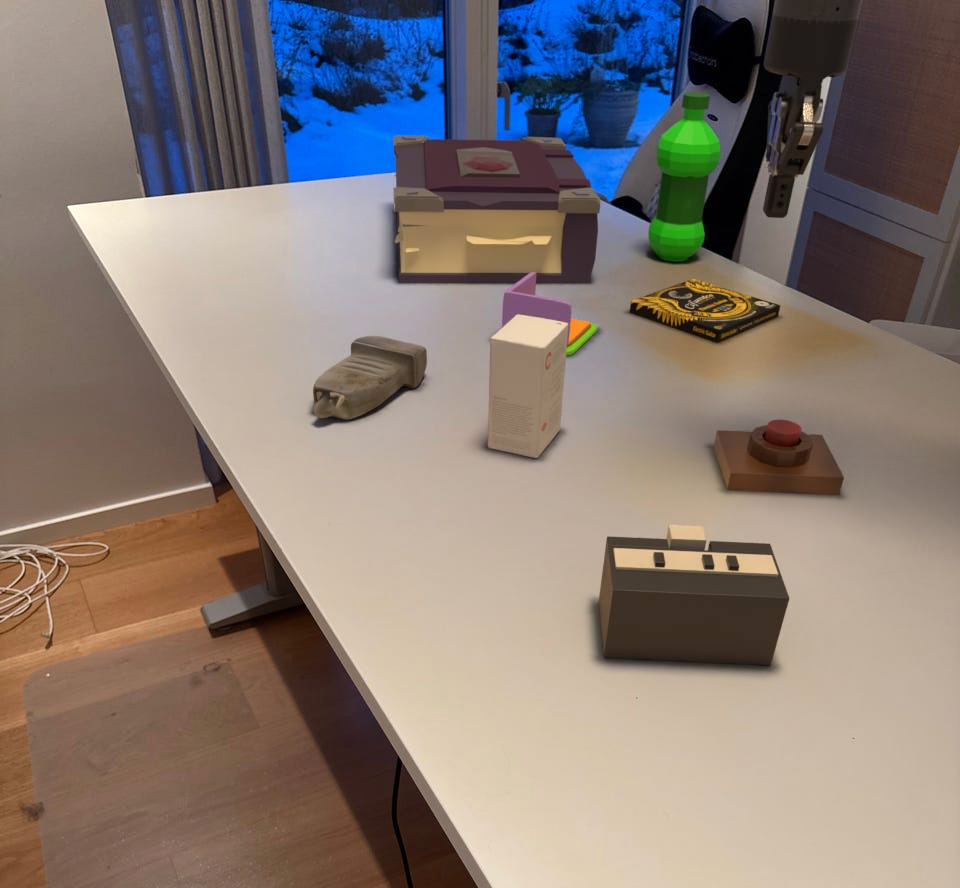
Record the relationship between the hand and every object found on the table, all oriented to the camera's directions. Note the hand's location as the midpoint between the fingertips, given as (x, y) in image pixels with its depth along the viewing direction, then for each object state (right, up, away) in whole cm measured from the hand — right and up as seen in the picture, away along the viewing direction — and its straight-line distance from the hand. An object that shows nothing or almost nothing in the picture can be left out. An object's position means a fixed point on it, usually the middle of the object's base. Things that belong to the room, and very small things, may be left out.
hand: (774, 215), depth 97 cm
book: (-28, +28, +74) cm, 84 cm away
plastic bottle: (+4, +24, +71) cm, 75 cm away
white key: (-12, -36, -13) cm, 40 cm away
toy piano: (-12, -42, -13) cm, 46 cm away
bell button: (+3, -21, +8) cm, 23 cm away
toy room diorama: (-20, +1, +40) cm, 45 cm away
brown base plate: (+3, -24, +10) cm, 26 cm away
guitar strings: (+4, +6, +49) cm, 49 cm away
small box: (-25, -20, +15) cm, 35 cm away
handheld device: (-44, -13, +23) cm, 51 cm away
